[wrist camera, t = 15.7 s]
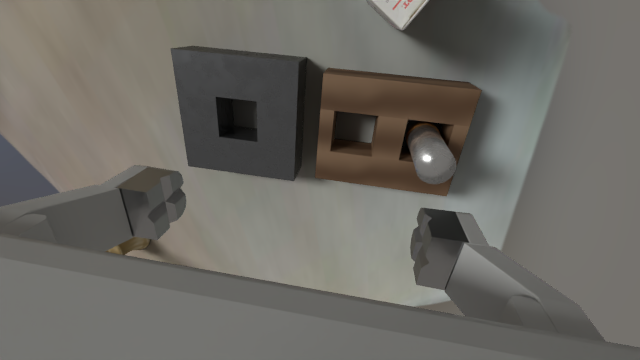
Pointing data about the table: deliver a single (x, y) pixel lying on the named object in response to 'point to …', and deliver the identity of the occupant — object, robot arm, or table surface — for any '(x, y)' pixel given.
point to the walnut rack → (389, 126)
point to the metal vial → (429, 152)
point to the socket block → (217, 111)
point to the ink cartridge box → (398, 10)
